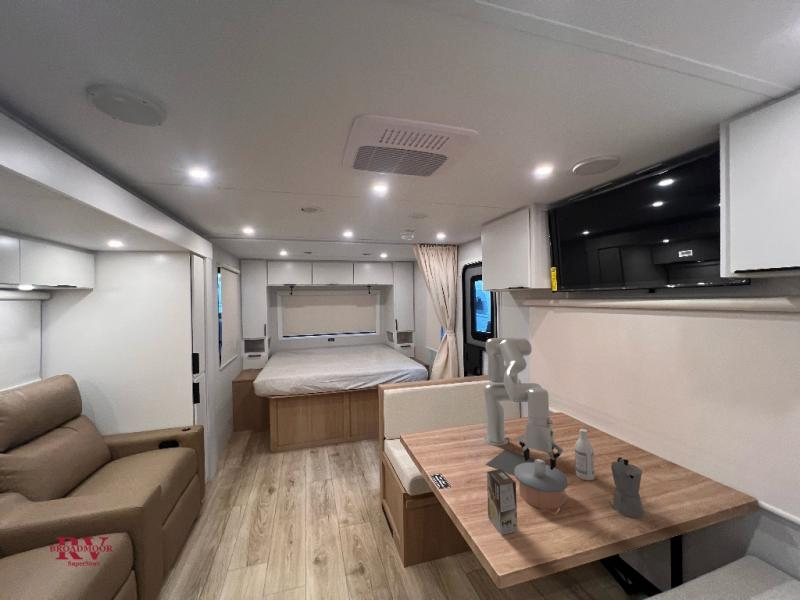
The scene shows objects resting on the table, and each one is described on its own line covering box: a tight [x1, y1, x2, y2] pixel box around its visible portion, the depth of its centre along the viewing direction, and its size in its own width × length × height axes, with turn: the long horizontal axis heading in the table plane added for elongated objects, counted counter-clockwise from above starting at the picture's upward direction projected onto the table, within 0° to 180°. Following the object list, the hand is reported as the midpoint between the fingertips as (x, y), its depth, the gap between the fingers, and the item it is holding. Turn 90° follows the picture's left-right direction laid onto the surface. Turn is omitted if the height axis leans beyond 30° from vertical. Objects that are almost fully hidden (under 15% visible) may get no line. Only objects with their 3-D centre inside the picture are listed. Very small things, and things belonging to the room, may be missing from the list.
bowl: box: [517, 480, 566, 510], centre depth 120 cm, size 16×16×7 cm
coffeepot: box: [610, 457, 644, 519], centre depth 112 cm, size 15×9×18 cm, turn 159°
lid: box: [514, 458, 569, 492], centre depth 120 cm, size 19×19×6 cm
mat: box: [485, 449, 548, 477], centre depth 144 cm, size 21×21×1 cm
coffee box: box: [486, 469, 518, 536], centre depth 105 cm, size 9×6×16 cm
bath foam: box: [574, 428, 595, 481], centre depth 133 cm, size 7×7×20 cm
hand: (539, 463), depth 120 cm, fingers open, 9 cm apart
